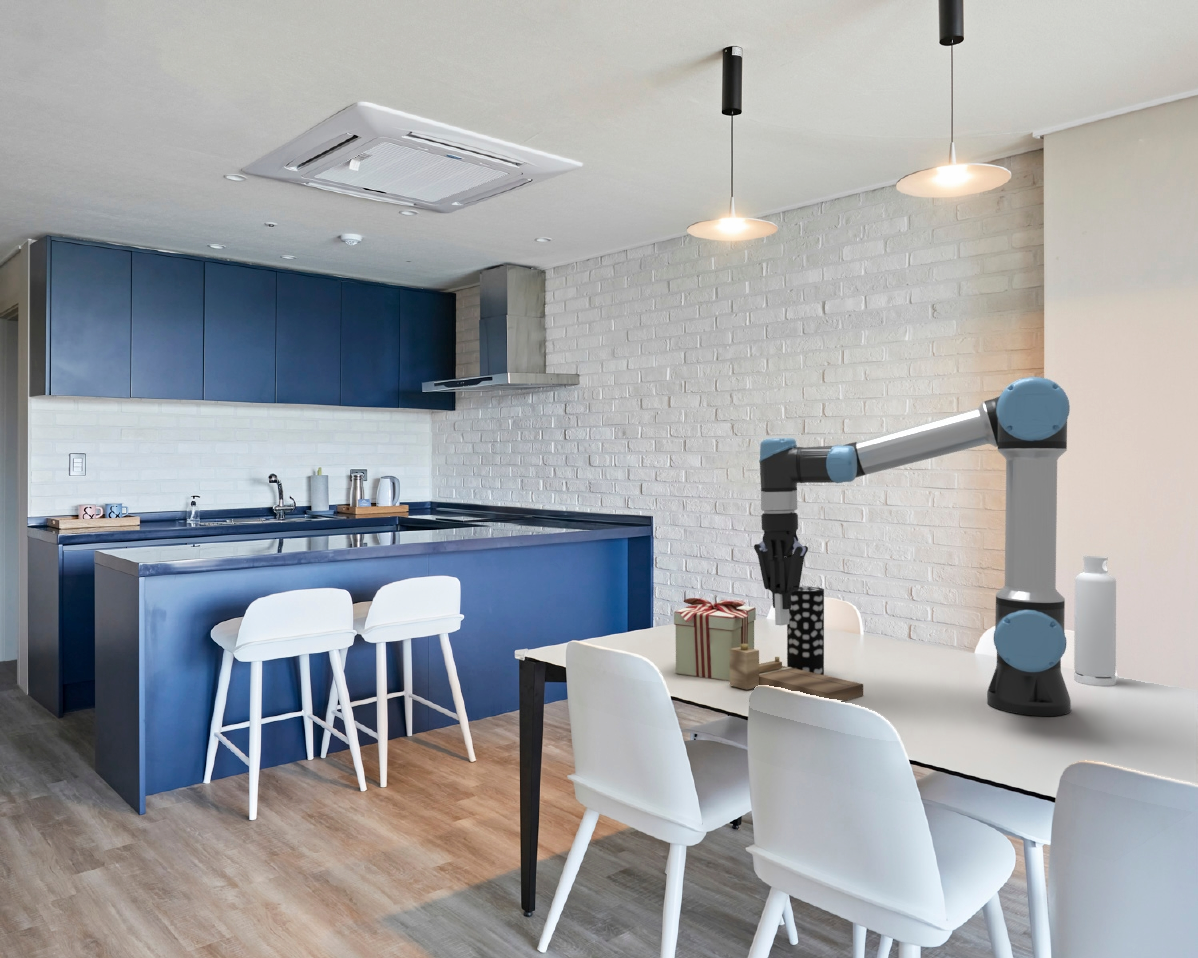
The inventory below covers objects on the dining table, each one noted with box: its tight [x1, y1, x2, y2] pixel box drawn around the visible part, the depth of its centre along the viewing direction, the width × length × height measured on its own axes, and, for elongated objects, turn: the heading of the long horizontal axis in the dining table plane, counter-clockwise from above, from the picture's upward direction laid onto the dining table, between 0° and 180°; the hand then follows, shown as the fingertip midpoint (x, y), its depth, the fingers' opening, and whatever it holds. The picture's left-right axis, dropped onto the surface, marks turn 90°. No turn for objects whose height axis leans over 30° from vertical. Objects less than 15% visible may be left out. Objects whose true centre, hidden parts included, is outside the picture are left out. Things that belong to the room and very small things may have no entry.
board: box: [759, 665, 864, 702], centre depth 193 cm, size 25×12×3 cm, turn 38°
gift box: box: [673, 597, 757, 682], centre depth 209 cm, size 17×18×17 cm
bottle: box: [1073, 555, 1117, 687], centre depth 199 cm, size 8×8×28 cm
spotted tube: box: [786, 586, 825, 675], centre depth 206 cm, size 8×8×20 cm
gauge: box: [729, 643, 783, 691], centre depth 198 cm, size 5×13×9 cm, turn 128°
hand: (782, 624), depth 186 cm, fingers closed
